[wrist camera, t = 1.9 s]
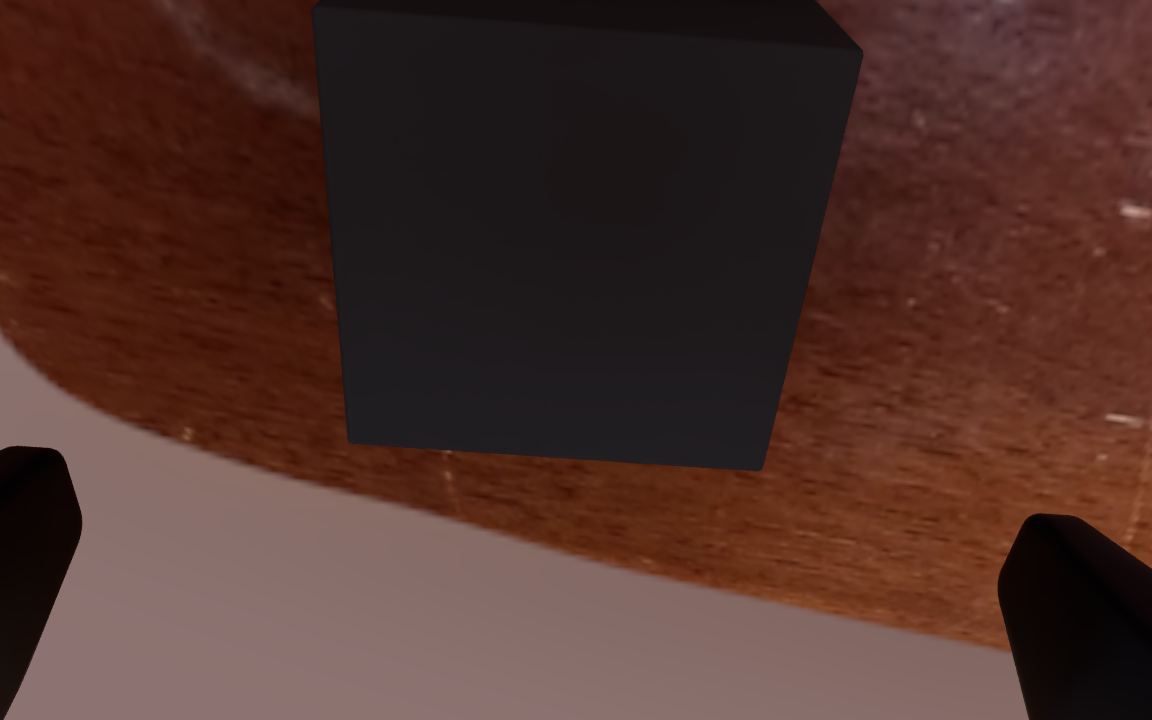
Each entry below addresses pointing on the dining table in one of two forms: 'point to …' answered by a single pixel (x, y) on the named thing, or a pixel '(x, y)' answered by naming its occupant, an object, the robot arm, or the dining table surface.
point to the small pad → (576, 218)
